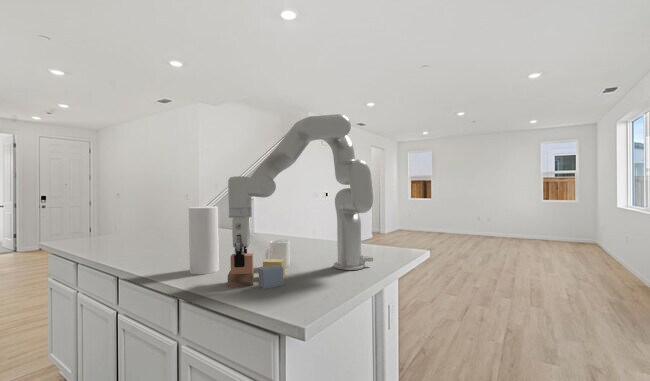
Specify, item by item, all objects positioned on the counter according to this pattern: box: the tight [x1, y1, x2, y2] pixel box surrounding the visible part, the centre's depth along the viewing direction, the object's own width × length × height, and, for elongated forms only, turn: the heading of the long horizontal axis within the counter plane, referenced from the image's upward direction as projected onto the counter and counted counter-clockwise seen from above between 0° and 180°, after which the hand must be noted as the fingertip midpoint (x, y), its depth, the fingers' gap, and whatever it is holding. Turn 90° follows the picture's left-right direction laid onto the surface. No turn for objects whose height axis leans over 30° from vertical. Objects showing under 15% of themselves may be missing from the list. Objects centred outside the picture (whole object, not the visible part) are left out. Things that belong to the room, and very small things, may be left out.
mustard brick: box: [262, 258, 286, 278], centre depth 118 cm, size 7×4×6 cm, turn 79°
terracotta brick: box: [230, 252, 254, 274], centre depth 110 cm, size 7×4×6 cm, turn 98°
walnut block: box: [227, 269, 255, 288], centre depth 110 cm, size 8×6×4 cm
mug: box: [264, 239, 291, 269], centre depth 132 cm, size 12×8×10 cm
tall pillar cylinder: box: [188, 205, 220, 275], centre depth 127 cm, size 11×11×25 cm
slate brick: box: [258, 265, 284, 290], centre depth 108 cm, size 7×4×6 cm, turn 124°
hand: (241, 263), depth 110 cm, fingers open, 9 cm apart
